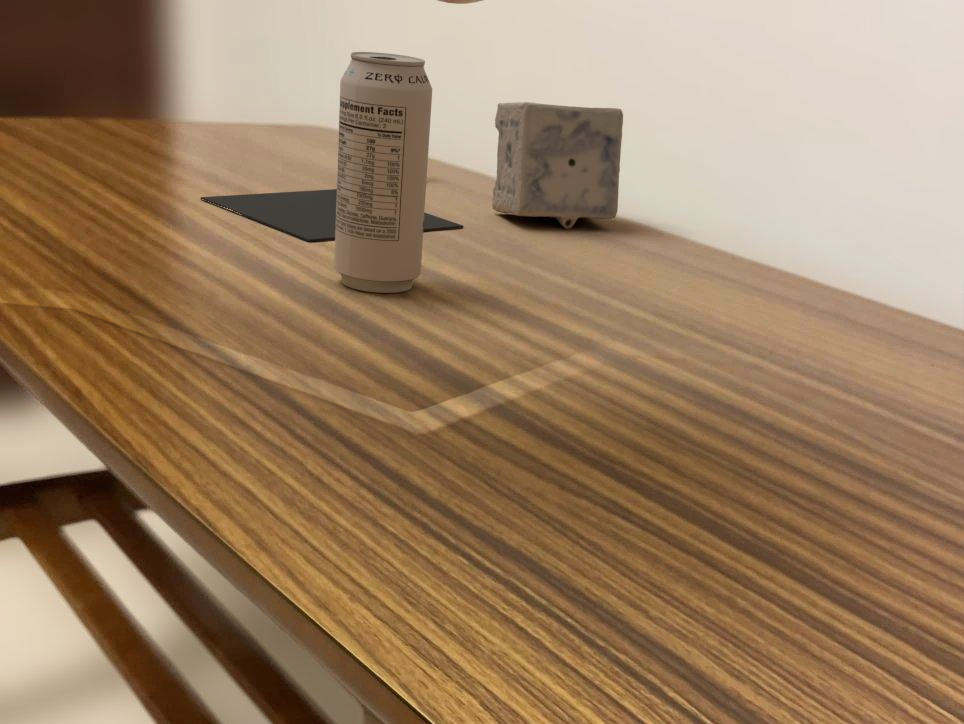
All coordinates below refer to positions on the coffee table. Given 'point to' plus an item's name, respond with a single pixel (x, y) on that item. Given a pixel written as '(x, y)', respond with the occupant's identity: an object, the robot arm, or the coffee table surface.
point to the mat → (302, 212)
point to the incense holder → (557, 161)
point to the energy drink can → (382, 171)
